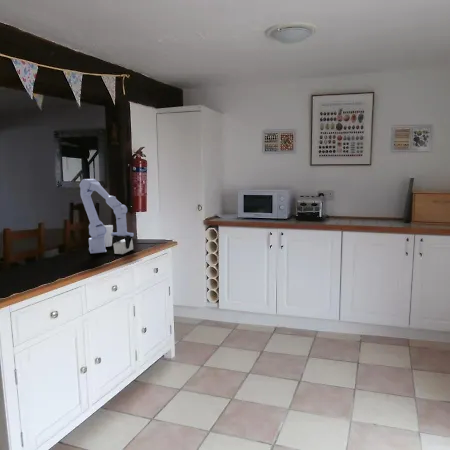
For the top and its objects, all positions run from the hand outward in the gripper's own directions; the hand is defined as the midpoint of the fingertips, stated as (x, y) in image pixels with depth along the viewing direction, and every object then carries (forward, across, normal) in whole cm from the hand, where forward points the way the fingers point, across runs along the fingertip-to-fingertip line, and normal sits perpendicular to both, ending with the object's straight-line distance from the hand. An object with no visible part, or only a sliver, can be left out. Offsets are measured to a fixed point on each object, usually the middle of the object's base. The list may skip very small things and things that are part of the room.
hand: (123, 248), depth 247 cm
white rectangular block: (+2, 0, -1) cm, 2 cm away
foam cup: (+3, +25, -18) cm, 31 cm away
